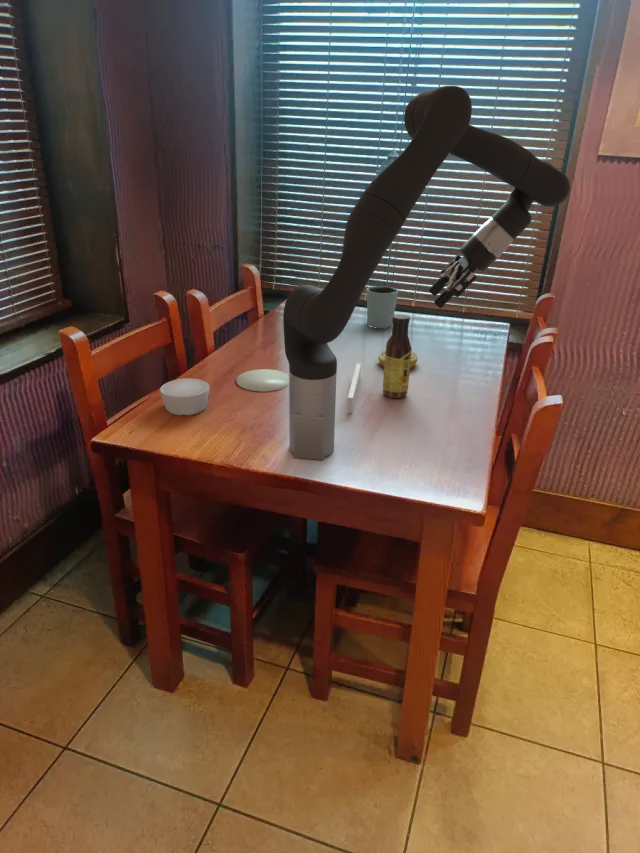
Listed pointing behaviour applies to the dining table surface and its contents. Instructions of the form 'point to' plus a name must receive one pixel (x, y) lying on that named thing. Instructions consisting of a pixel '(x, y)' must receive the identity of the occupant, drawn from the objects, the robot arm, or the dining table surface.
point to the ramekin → (185, 396)
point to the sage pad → (263, 380)
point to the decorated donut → (412, 363)
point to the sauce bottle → (397, 359)
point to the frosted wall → (354, 388)
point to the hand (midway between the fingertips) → (434, 299)
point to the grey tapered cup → (381, 306)
